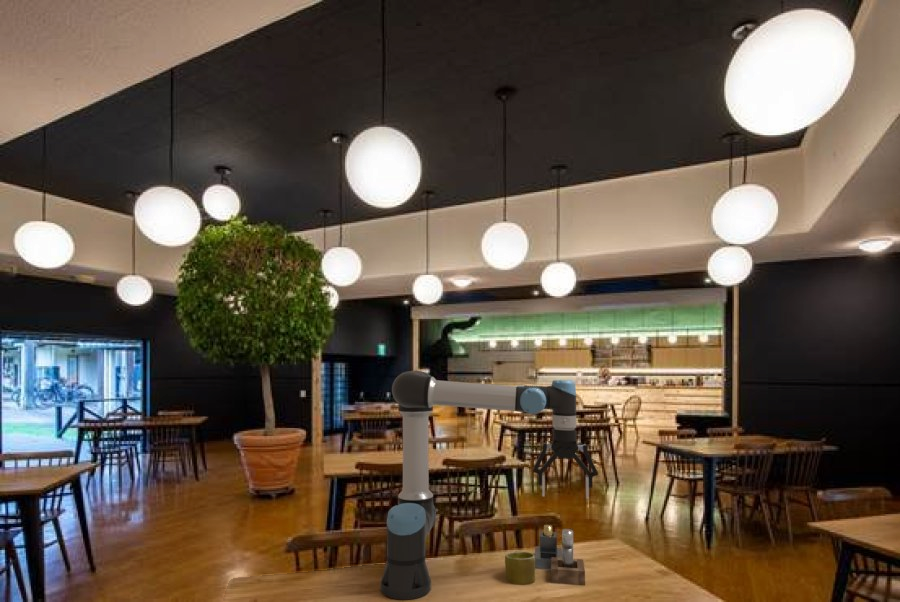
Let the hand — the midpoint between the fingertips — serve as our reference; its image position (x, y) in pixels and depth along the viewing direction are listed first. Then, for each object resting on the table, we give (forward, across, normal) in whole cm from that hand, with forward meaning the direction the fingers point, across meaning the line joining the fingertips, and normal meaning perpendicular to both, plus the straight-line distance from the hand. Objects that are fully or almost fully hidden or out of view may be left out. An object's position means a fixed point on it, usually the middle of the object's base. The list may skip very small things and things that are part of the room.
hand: (565, 496), depth 169 cm
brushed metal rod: (+24, 0, 0) cm, 24 cm away
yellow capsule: (+21, -6, +15) cm, 26 cm away
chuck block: (+25, -6, +12) cm, 28 cm away
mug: (+26, -14, -2) cm, 29 cm away
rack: (+25, 0, 0) cm, 25 cm away
